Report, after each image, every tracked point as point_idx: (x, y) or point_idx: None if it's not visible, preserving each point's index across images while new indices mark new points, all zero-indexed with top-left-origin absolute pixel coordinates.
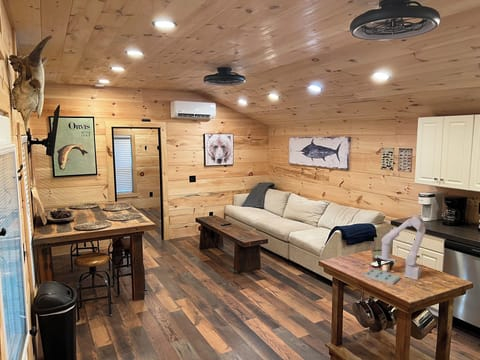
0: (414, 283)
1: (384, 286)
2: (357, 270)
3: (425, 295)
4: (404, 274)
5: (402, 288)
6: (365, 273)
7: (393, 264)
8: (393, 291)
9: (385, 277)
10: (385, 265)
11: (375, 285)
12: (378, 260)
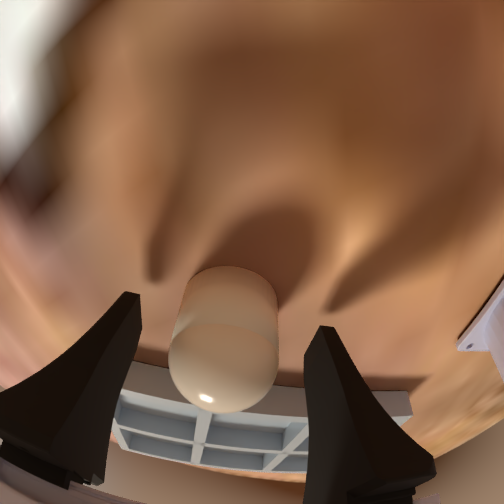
0: (480, 393)
1: None
2: (18, 360)
3: (460, 442)
4: (486, 314)
5: None
6: (120, 444)
7: (394, 429)
8: None
9: (278, 461)
10: (228, 412)
11: (235, 471)
12: (95, 482)
